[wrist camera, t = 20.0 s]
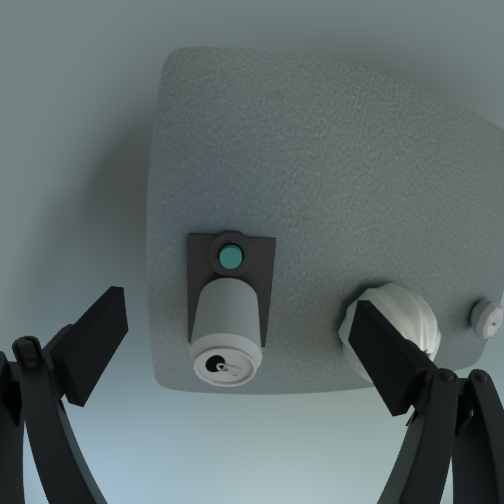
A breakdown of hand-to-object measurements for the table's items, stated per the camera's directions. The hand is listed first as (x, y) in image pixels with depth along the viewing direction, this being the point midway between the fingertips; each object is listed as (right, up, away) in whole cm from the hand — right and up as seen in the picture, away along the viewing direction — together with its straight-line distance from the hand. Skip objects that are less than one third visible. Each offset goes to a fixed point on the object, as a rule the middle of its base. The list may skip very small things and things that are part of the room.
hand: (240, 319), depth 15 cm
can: (-2, -2, +22) cm, 22 cm away
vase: (+19, -6, +25) cm, 32 cm away
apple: (+46, -8, +27) cm, 54 cm away
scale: (-2, -2, +23) cm, 23 cm away
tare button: (-2, +3, +19) cm, 20 cm away
